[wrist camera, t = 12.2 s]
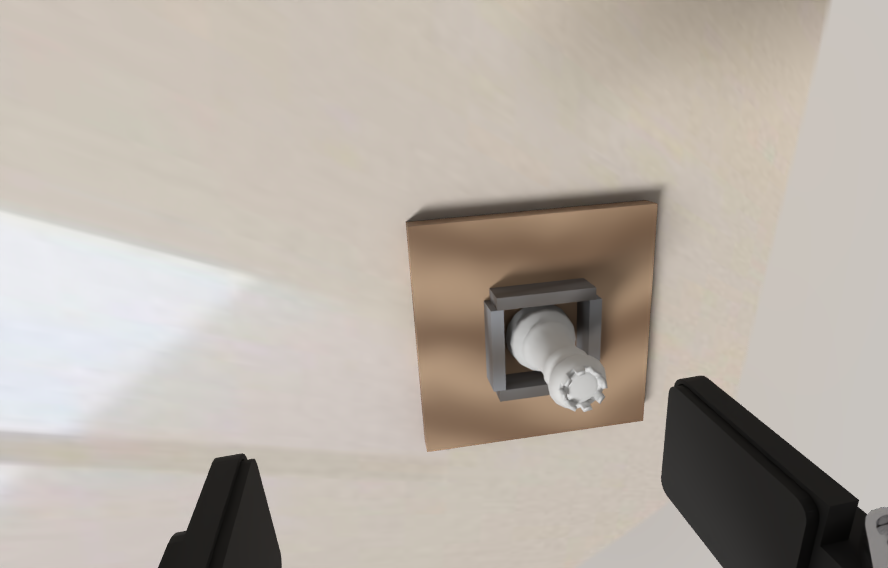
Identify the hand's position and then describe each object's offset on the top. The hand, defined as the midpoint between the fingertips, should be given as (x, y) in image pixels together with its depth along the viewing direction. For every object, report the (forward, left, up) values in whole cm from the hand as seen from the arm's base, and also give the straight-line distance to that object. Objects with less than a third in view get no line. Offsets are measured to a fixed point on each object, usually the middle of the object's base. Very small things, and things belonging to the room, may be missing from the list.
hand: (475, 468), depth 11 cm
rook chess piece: (+7, +8, -21) cm, 24 cm away
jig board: (+7, +8, -23) cm, 25 cm away
